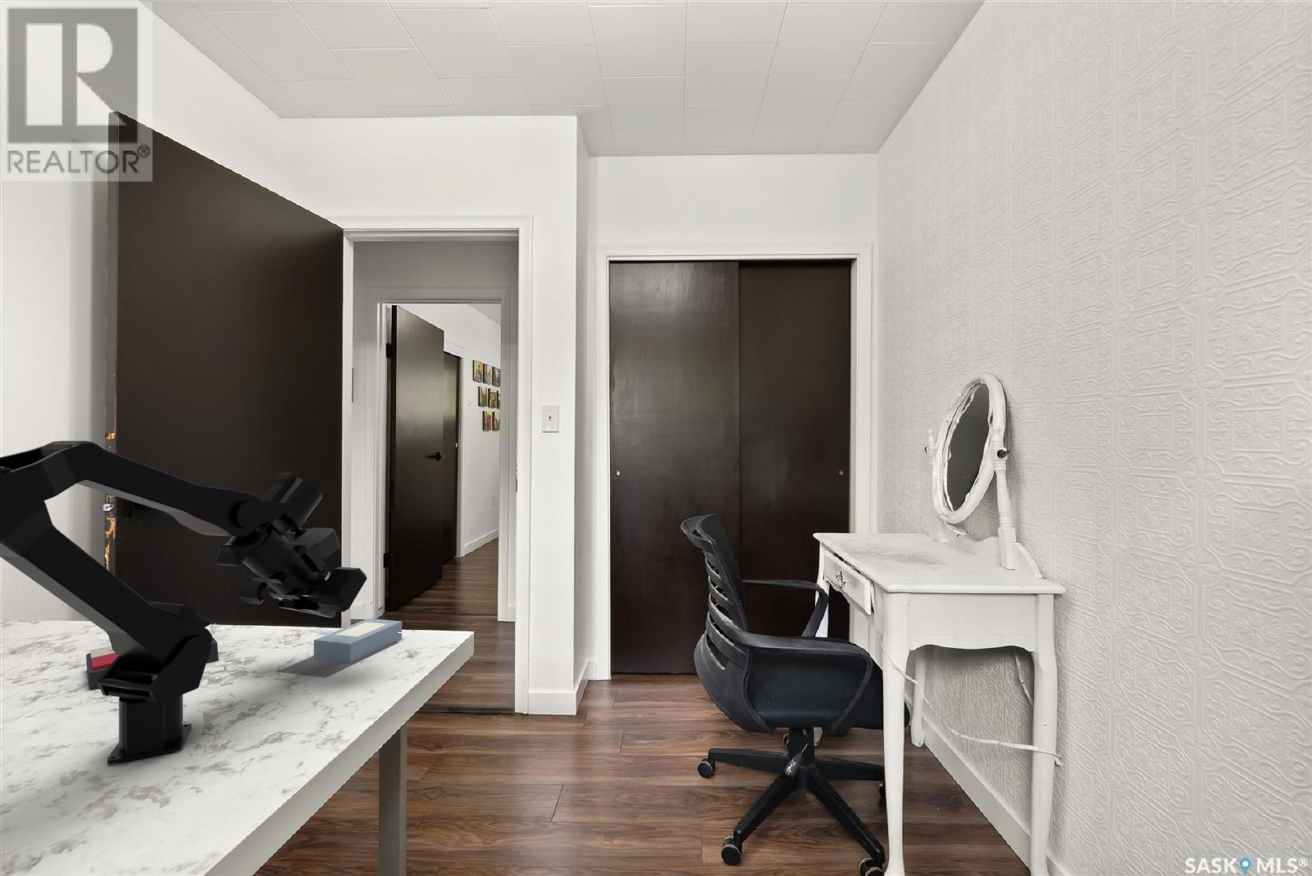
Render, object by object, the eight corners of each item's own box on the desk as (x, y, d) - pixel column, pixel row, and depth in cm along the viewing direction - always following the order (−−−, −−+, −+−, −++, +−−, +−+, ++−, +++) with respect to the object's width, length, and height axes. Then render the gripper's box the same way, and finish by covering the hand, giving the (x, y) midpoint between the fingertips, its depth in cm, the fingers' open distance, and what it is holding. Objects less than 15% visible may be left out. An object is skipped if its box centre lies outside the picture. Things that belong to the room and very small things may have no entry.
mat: (325, 680, 89) (325, 677, 89) (276, 673, 92) (276, 671, 92) (399, 644, 105) (399, 642, 105) (355, 640, 107) (355, 637, 107)
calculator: (85, 648, 93) (205, 622, 104) (87, 676, 94) (207, 647, 104) (87, 667, 86) (217, 637, 96) (89, 698, 86) (219, 664, 96)
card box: (350, 643, 95) (401, 621, 107) (313, 639, 97) (368, 618, 108) (350, 663, 95) (401, 638, 107) (313, 658, 97) (368, 635, 108)
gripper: (358, 514, 89) (407, 574, 99) (256, 510, 94) (314, 568, 104) (314, 579, 81) (372, 637, 92) (206, 571, 86) (273, 627, 97)
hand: (333, 614), depth 96 cm, fingers closed
